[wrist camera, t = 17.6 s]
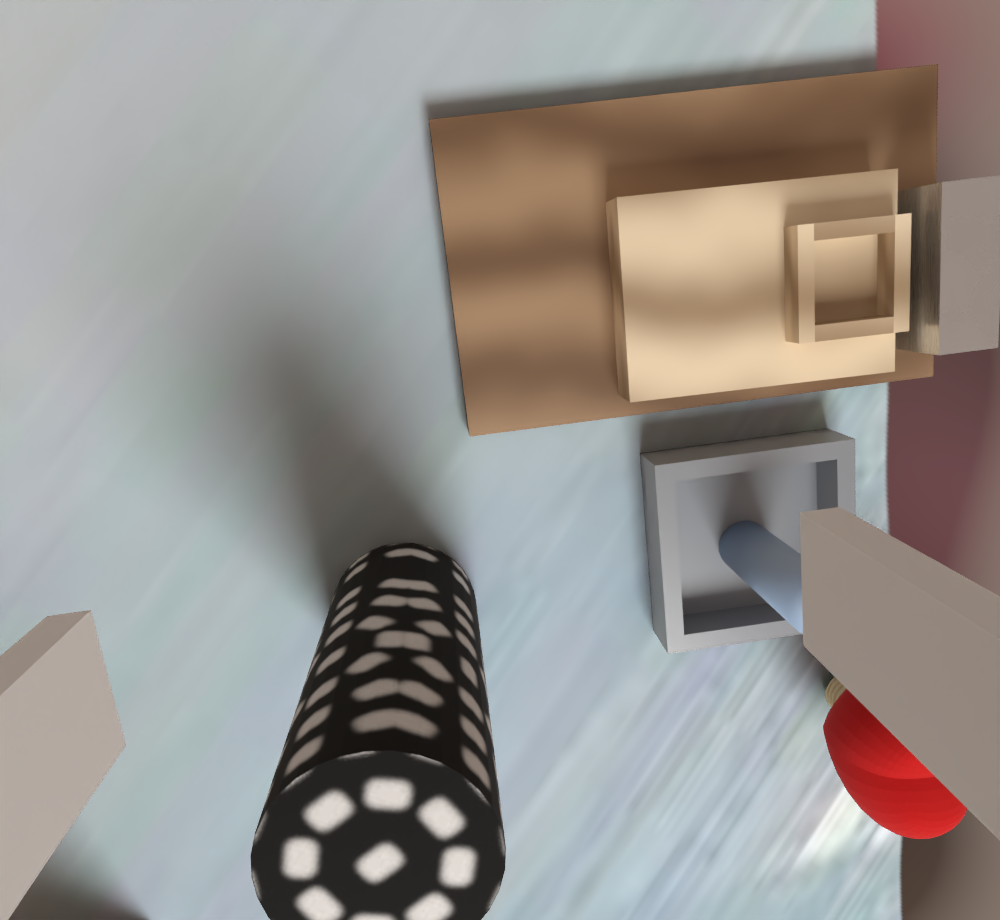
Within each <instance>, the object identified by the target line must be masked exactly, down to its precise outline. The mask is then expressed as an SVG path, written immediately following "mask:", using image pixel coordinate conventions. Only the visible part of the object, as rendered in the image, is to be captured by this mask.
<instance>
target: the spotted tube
mask: <svg viewBox="0 0 1000 920" xmlns="http://www.w3.org/2000/svg"><path fill="white" fill-rule="evenodd" d="M505 853H506V847H505V839H504V830H503V822H502V814H501V805H500V797H499V789H498V780H497V772H496V764H495V755H494V747H493V739H492V730H491V722H490V714H489V705H488V697H487V689H486V680H485V672H484V664H483V655H482V647H481V639H480V630H479V622H478V614H477V605H476V600H475V594H474V590H473V588H472V585H471V583H470V581H469V579H468V577H467V576H466V574H465V573H464V571H463V570H462V568H461V567H460V566H459V565H458V564H457V563H456V562H454V561H453V560H452V559H451V558H450V557H448V556H447V555H445V554H443V553H442V552H440V551H438V550H436V549H433V548H431V547H428V546H424V545H419V544H414V543H396V544H391V545H385V546H382V547H380V548H377V549H374V550H372V551H370V552H368V553H367V554H365V555H363V556H362V557H360V558H359V559H358V560H356V561H355V562H354V563H353V564H352V565H351V566H350V567H349V568H348V569H347V571H346V572H345V574H344V575H343V577H342V578H341V580H340V582H339V584H338V586H337V589H336V591H335V594H334V597H333V600H332V603H331V606H330V609H329V612H328V615H327V618H326V621H325V624H324V627H323V630H322V633H321V636H320V639H319V642H318V645H317V648H316V651H315V654H314V657H313V660H312V663H311V666H310V669H309V672H308V675H307V678H306V681H305V684H304V687H303V690H302V694H301V697H300V700H299V703H298V706H297V709H296V712H295V715H294V718H293V721H292V724H291V727H290V730H289V733H288V736H287V739H286V742H285V745H284V748H283V751H282V754H281V757H280V760H279V763H278V766H277V769H276V772H275V775H274V778H273V781H272V784H271V787H270V790H269V793H268V796H267V799H266V802H265V805H264V808H263V811H262V814H261V817H260V820H259V823H258V826H257V829H256V832H255V836H254V841H253V847H252V852H251V872H252V880H253V883H254V887H255V890H256V894H257V897H258V899H259V901H260V903H261V905H262V907H263V908H264V910H265V912H266V914H267V916H268V917H269V918H270V920H481V919H482V918H483V917H484V915H485V914H486V913H487V912H488V910H489V909H490V907H491V905H492V903H493V901H494V899H495V897H496V895H497V894H498V892H499V889H500V886H501V882H502V878H503V875H504V871H505Z"/></svg>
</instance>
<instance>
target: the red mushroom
mask: <svg viewBox="0 0 1000 920" xmlns="http://www.w3.org/2000/svg"><path fill="white" fill-rule="evenodd" d="M826 699H827V702H828V704H829V705H830V706H831V707H832V708H831V709H830V711H829V713H828V715H827V718H826V720H825V723H824V726H823V730H824V735H825V739H826V743H827V747H828V750H829V753H830V756H831V759H832V761H833V764H834V766H835V769H836V771H837V773H838V775H839V777H840V779H841V781H842V782H843V784H844V786H845V788H846V790H847V791H848V793H849V794H850V795H851V797H852V798H853V799H854V800H855V802H856V803H857V804H858V806H859V807H860V808H861V809H862V810H863V811H864V812H865V813H866V814H867V815H869V816H870V817H871V818H872V819H873V820H874V821H875V822H877V823H878V824H879V825H881V826H882V827H884V828H886V829H888V830H890V831H892V832H894V833H895V834H898V835H901V836H905V837H909V838H914V839H928V838H932V837H936V836H940V835H943V834H944V833H946V832H948V831H950V830H952V829H953V828H954V827H955V826H956V825H957V824H958V823H959V822H960V821H961V819H962V818H963V817H964V815H965V814H966V810H967V808H966V807H965V806H964V805H963V804H962V803H961V802H960V801H959V800H958V799H957V798H956V797H955V796H954V795H953V794H952V793H951V792H950V791H949V790H948V789H947V788H946V787H945V786H944V785H943V784H942V783H941V782H940V781H939V780H938V779H937V778H936V777H935V776H934V775H933V774H932V773H931V772H930V771H929V770H928V769H927V768H926V767H925V766H924V765H923V764H922V763H921V762H920V761H919V760H918V759H917V758H916V757H915V756H914V755H913V754H912V753H911V752H910V751H909V750H908V749H907V748H906V747H905V746H904V745H903V744H902V743H901V742H900V741H899V740H898V739H897V738H896V737H895V736H894V735H893V734H892V733H891V732H890V731H889V730H888V729H887V728H886V727H885V726H884V725H883V724H882V723H881V722H880V721H879V720H878V719H877V718H876V717H875V716H874V715H873V714H872V713H871V712H870V711H869V710H868V709H867V708H866V707H865V706H864V705H863V704H862V703H861V702H860V701H859V700H858V699H857V698H856V697H855V696H854V695H853V694H852V693H851V692H850V691H849V690H848V689H847V688H846V687H844V686H843V685H842V684H841V683H840V682H839V681H838V680H837V679H836V678H835V677H834V678H833V679H832V680H831V681H830V683H829V684H828V686H827V689H826Z"/></svg>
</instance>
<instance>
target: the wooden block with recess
mask: <svg viewBox="0 0 1000 920" xmlns="http://www.w3.org/2000/svg"><path fill="white" fill-rule="evenodd" d="M897 202H898V169H888V170H878V171H869V172H859V173H849V174H839V175H829V176H820V177H810V178H800V179H790V180H781V181H771V182H761V183H751V184H742V185H732V186H722V187H712V188H702V189H693V190H683V191H673V192H663V193H654V194H644V195H634V196H624V197H616V198H614V199H612V200H610V201H608V202H606V215H607V230H608V244H609V259H610V274H611V288H612V303H613V317H614V332H615V347H616V361H617V376H618V390H619V396H620V397H622V398H624V399H625V400H627V401H628V402H639V401H647V400H656V399H664V398H673V397H682V396H690V395H699V394H707V393H716V392H724V391H733V390H741V389H750V388H759V387H767V386H776V385H784V384H793V383H801V382H810V381H818V380H827V379H836V378H844V377H853V376H861V375H870V374H878V373H887V372H895V333H898V332H906V331H909V315H910V265H911V215H912V213H907V214H898V215H897Z"/></svg>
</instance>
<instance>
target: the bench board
mask: <svg viewBox="0 0 1000 920" xmlns="http://www.w3.org/2000/svg"><path fill="white" fill-rule="evenodd" d="M937 95H938V64H936V65H926V66H917V67H907V68H898V69H889V70H880V71H871V72H861V73H852V74H843V75H834V76H825V77H815V78H806V79H797V80H788V81H779V82H769V83H760V84H751V85H742V86H733V87H723V88H714V89H705V90H696V91H687V92H677V93H668V94H659V95H650V96H641V97H632V98H622V99H613V100H604V101H595V102H586V103H576V104H567V105H558V106H549V107H540V108H530V109H521V110H512V111H503V112H494V113H484V114H475V115H466V116H457V117H448V118H438V119H429V125H430V133H431V141H432V148H433V156H434V164H435V172H436V180H437V187H438V195H439V203H440V211H441V219H442V226H443V234H444V242H445V250H446V258H447V265H448V273H449V281H450V289H451V297H452V304H453V312H454V320H455V328H456V336H457V343H458V351H459V359H460V367H461V375H462V382H463V390H464V398H465V406H466V414H467V421H468V429H469V435H470V436H477V435H484V434H492V433H500V432H507V431H515V430H523V429H530V428H538V427H546V426H553V425H561V424H569V423H577V422H584V421H592V420H600V419H607V418H615V417H623V416H630V415H638V414H646V413H653V412H661V411H669V410H677V409H684V408H692V407H700V406H707V405H715V404H723V403H730V402H738V401H746V400H754V399H761V398H769V397H777V396H784V395H792V394H800V393H807V392H815V391H823V390H830V389H838V388H846V387H854V386H861V385H869V384H877V383H884V382H892V381H899V380H907V379H914V378H923V377H930V376H933V354H927V353H920V352H913V351H906V350H899V349H895V372H887V373H878V374H870V375H861V376H853V377H844V378H836V379H827V380H818V381H810V382H801V383H793V384H784V385H776V386H767V387H759V388H750V389H741V390H733V391H724V392H716V393H707V394H699V395H690V396H682V397H673V398H664V399H656V400H647V401H639V402H628V401H627V400H625V399H624V398H622V397H620V396H619V390H618V376H617V361H616V347H615V332H614V317H613V303H612V288H611V274H610V259H609V244H608V230H607V215H606V202H608V201H610V200H612V199H614V198H616V197H624V196H634V195H644V194H654V193H663V192H673V191H683V190H693V189H702V188H712V187H722V186H732V185H742V184H751V183H761V182H771V181H781V180H790V179H800V178H810V177H820V176H829V175H839V174H849V173H859V172H869V171H878V170H888V169H898V191H900V190H905V189H910V188H915V187H920V186H925V185H930V184H935V183H936V163H937V160H936V159H937V100H938V96H937Z"/></svg>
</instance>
